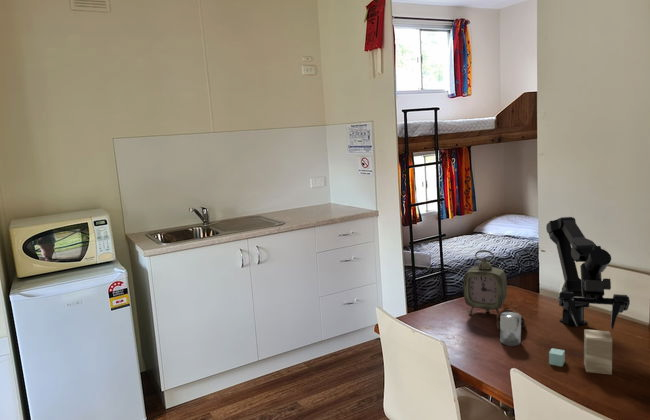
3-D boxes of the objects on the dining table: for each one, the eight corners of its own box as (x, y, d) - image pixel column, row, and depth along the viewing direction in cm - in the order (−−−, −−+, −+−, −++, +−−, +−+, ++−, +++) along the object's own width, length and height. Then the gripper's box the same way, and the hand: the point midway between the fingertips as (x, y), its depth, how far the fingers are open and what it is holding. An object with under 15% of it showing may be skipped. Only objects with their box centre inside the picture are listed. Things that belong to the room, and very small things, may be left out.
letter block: (551, 359, 150) (551, 348, 149) (564, 361, 148) (564, 350, 147) (549, 364, 147) (549, 352, 146) (562, 366, 145) (562, 355, 144)
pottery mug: (533, 334, 168) (523, 317, 166) (507, 346, 170) (497, 329, 168) (520, 313, 179) (511, 297, 177) (496, 325, 181) (487, 309, 179)
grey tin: (512, 336, 167) (513, 310, 165) (524, 344, 161) (525, 318, 159) (496, 338, 166) (496, 313, 164) (507, 346, 160) (507, 320, 158)
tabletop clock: (464, 315, 189) (461, 251, 185) (470, 307, 196) (468, 246, 192) (503, 320, 181) (501, 254, 177) (508, 311, 189) (507, 248, 185)
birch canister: (584, 363, 146) (584, 329, 144) (608, 365, 143) (609, 331, 142) (586, 372, 140) (586, 337, 139) (611, 374, 138) (612, 339, 136)
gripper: (559, 266, 152) (560, 314, 144) (629, 269, 145) (635, 319, 137) (558, 282, 161) (559, 328, 153) (624, 285, 153) (629, 334, 145)
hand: (594, 327), depth 147 cm, fingers open, 9 cm apart
